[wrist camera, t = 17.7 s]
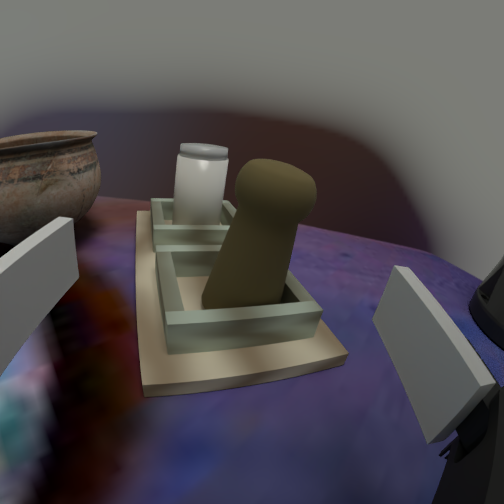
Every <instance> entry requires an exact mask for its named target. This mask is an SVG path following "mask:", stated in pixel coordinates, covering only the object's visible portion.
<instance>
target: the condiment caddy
mask: <svg viewBox="0 0 504 504" xmlns="http://www.w3.org/2000/svg"><path fill="white" fill-rule="evenodd" d="M173 202H174V199H156V198H155V199H154V198H151V211H137V226H136V309H137V329H138V344H139V357H140V367H141V377H142V386H143V392H144V397H154V396H168V395H180V394H190V393H199V392H208V391H216V390H223V389H230V388H237V387H243V386H249V385H255V384H261V383H266V382H271V381H276V380H281V379H286V378H291V377H296V376H300V375H304V374H309V373H313V372H317V371H321V370H325V369H329V368H333V367H337V366H340V365H343V364H344V362H345V360H346V358H347V356H348V354H349V353H348V352H347V350H346V349H345V348H344V347H343V345H342V344H341V343H340V342H339V340H338V339H337V338H336V337H335V336H334V334H333V333H332V332H331V331H330V329H329V328H328V327H327V326H326V324H325V323H324V322H323V321H322V320H321V315H322V312H323V309H322V308H321V307H320V306H319V305H318V304H317V302H316V301H315V300H314V299H313V298H312V297H311V295H310V294H309V293H308V292H307V291H306V290H305V288H304V287H303V286H302V285H301V284H300V283H299V281H298V280H297V279H296V278H295V277H294V276H293V274H292V273H291V272H290V271H289V270H288V272H287V277H286V281H285V285H284V290H283V294H282V298H281V302H280V304H275V305H264V306H252V307H239V308H225V309H209V310H205V308H204V306H203V305H202V297H201V296H202V293H203V291H204V288H205V286H206V283H207V281H208V278H209V276H210V273H211V271H212V268H213V266H214V263H215V261H216V258H217V256H218V253H219V251H220V249H221V246H222V244H223V241H224V239H225V236H226V234H227V232H228V229H229V227H230V224H231V222H232V220H233V217H234V215H235V213H236V209H235V208H234V207H233V206H232V205H231V203H230V202H228V201H224V200H223V203H222V210H221V218H220V225H172V216H173Z"/></svg>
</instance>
